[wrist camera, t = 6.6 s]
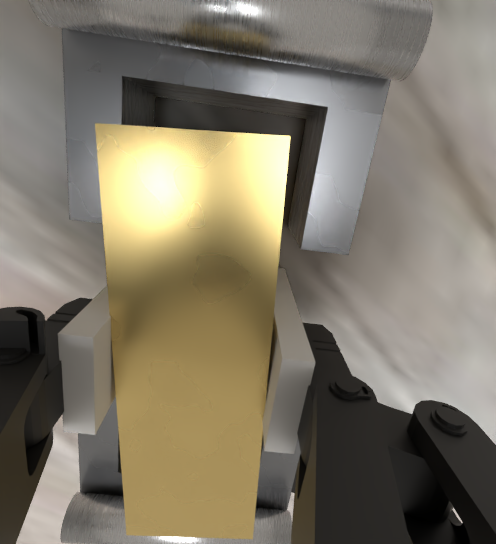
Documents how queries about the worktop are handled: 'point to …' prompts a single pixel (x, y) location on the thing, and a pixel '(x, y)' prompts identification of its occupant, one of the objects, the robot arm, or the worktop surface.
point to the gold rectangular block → (191, 318)
